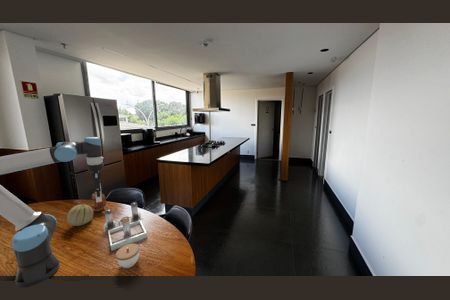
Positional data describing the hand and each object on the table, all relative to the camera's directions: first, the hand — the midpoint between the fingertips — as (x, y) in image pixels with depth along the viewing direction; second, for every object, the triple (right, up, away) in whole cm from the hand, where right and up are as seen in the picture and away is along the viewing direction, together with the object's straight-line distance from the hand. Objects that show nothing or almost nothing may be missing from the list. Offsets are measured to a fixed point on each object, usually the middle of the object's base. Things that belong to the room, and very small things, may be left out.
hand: (99, 197), depth 110 cm
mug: (-26, -21, +40) cm, 52 cm away
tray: (+14, -27, +7) cm, 31 cm away
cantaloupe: (-26, -25, +21) cm, 42 cm away
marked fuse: (+14, -26, +7) cm, 30 cm away
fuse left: (-3, -24, +15) cm, 29 cm away
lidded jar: (+26, -31, -14) cm, 43 cm away
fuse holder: (+4, -24, +20) cm, 32 cm away
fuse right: (+10, -22, +25) cm, 35 cm away
